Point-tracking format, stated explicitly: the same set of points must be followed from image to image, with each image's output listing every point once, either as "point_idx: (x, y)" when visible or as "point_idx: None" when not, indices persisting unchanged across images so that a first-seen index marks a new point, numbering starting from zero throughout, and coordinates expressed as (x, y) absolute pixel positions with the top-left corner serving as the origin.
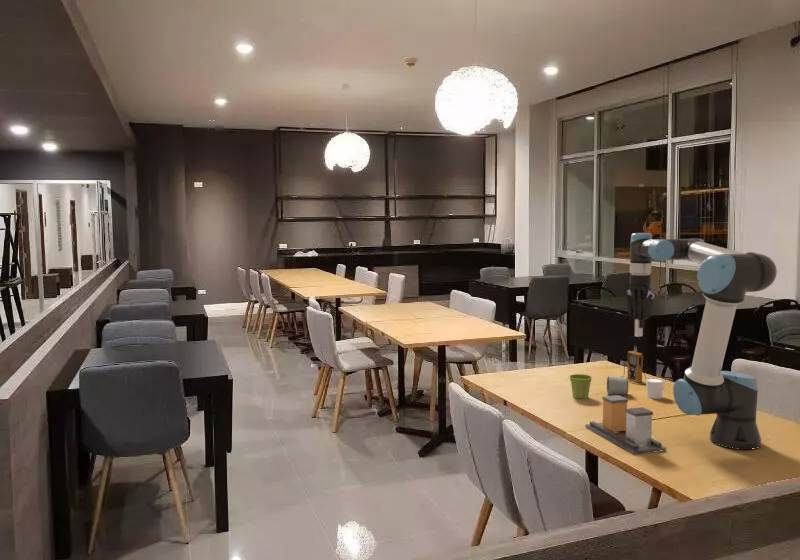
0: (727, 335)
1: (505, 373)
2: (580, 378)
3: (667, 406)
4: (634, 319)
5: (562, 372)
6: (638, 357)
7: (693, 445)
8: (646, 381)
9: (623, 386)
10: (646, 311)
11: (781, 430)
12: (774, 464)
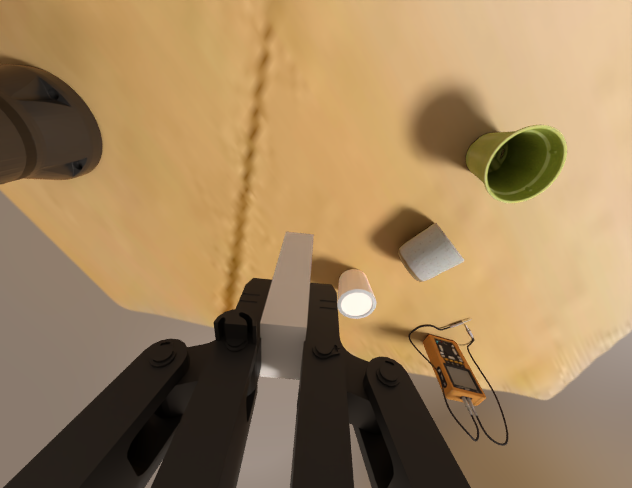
0: None
1: None
2: (526, 187)
3: None
4: (328, 337)
5: (606, 299)
6: (448, 383)
7: (49, 8)
8: (371, 292)
9: (408, 249)
10: (45, 450)
11: (94, 263)
12: None
